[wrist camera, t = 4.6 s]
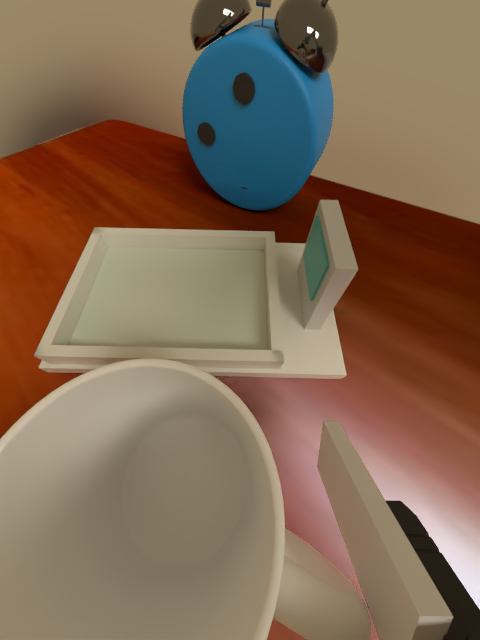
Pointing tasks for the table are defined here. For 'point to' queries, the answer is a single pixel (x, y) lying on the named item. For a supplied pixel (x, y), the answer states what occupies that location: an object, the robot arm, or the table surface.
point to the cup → (155, 518)
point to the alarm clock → (259, 98)
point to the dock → (206, 301)
